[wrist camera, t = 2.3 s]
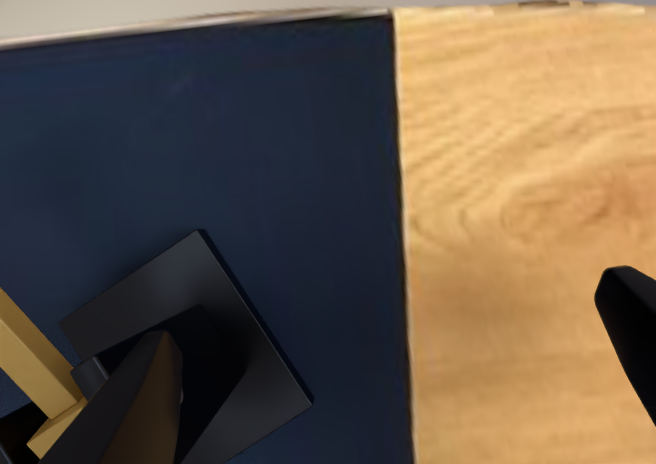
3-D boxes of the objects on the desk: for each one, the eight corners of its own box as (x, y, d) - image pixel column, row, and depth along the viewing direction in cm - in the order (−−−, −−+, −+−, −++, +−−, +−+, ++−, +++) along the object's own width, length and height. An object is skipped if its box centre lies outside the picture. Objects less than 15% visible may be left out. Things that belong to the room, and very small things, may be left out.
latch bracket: (71, 318, 24) (-148, 387, 14) (204, 228, 24) (88, 227, 13) (178, 485, 24) (42, 691, 13) (314, 397, 24) (288, 535, 13)
